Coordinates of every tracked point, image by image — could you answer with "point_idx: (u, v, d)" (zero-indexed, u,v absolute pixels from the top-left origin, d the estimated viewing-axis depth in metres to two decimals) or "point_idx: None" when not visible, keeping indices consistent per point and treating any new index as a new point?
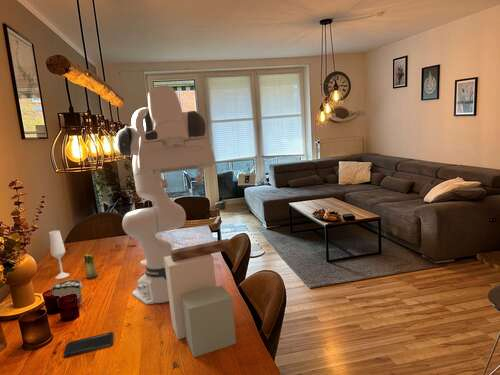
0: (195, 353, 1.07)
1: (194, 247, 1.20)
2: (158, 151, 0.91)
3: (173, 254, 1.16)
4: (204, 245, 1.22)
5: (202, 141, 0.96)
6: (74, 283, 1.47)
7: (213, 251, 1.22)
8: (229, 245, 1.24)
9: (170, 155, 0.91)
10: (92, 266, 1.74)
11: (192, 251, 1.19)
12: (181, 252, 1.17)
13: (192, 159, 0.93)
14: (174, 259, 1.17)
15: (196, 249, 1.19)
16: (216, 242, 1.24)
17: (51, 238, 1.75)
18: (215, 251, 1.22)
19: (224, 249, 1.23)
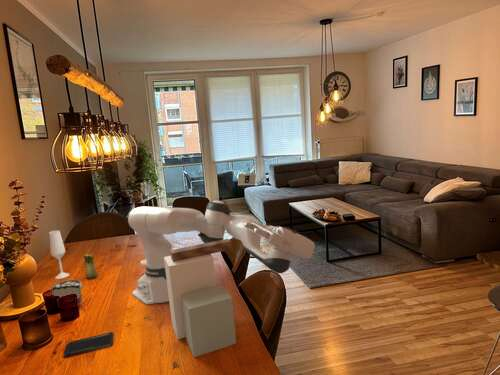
0: (195, 353, 1.07)
1: (194, 247, 1.20)
2: (267, 228, 1.36)
3: (173, 254, 1.16)
4: (204, 245, 1.22)
5: (286, 237, 1.26)
6: (74, 283, 1.47)
7: (213, 251, 1.22)
8: (229, 245, 1.24)
9: None
10: (92, 266, 1.74)
11: (192, 251, 1.19)
12: (181, 252, 1.17)
13: (269, 230, 1.27)
14: (174, 259, 1.17)
15: (196, 249, 1.19)
16: (216, 242, 1.24)
17: (51, 238, 1.75)
18: (215, 251, 1.22)
19: (224, 249, 1.23)
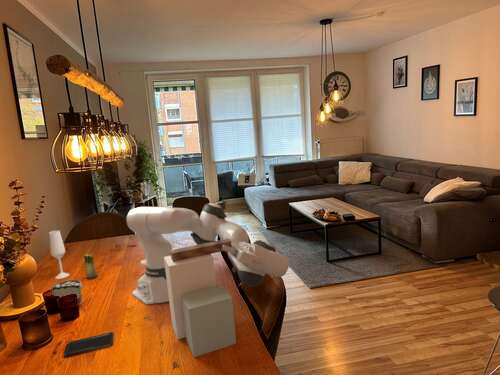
0: (195, 353, 1.07)
1: (194, 247, 1.20)
2: (239, 245, 1.33)
3: (173, 254, 1.16)
4: (204, 245, 1.22)
5: (256, 255, 1.22)
6: (74, 283, 1.47)
7: (213, 251, 1.22)
8: (229, 245, 1.24)
9: (238, 245, 1.29)
10: (92, 266, 1.74)
11: (192, 251, 1.19)
12: (181, 252, 1.17)
13: (240, 248, 1.24)
14: (174, 259, 1.17)
15: (196, 249, 1.19)
16: (216, 242, 1.24)
17: (51, 238, 1.75)
18: (215, 251, 1.22)
19: None
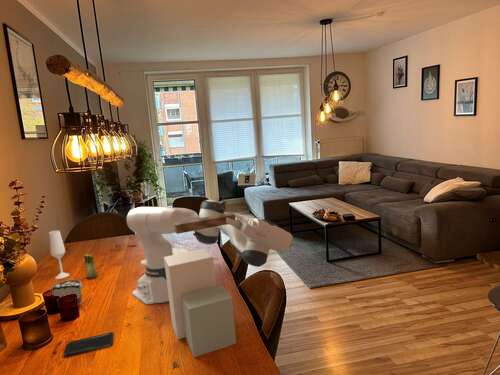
0: (195, 353, 1.07)
1: (198, 220, 1.19)
2: (243, 220, 1.32)
3: (176, 226, 1.15)
4: (208, 218, 1.21)
5: (260, 228, 1.21)
6: (74, 283, 1.47)
7: (217, 224, 1.21)
8: (233, 218, 1.23)
9: (242, 220, 1.29)
10: (92, 266, 1.74)
11: (196, 224, 1.18)
12: (185, 224, 1.16)
13: None
14: (178, 231, 1.16)
15: (200, 221, 1.18)
16: (220, 215, 1.23)
17: (51, 238, 1.75)
18: (219, 224, 1.21)
19: None
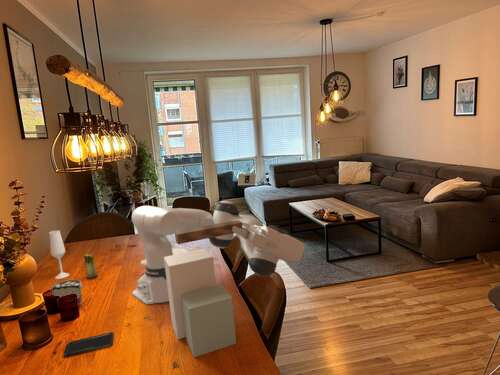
0: (195, 353, 1.07)
1: (201, 228, 1.08)
2: (250, 228, 1.20)
3: (178, 236, 1.04)
4: (212, 226, 1.10)
5: (270, 238, 1.10)
6: (74, 283, 1.47)
7: (222, 233, 1.10)
8: (240, 227, 1.12)
9: (249, 228, 1.17)
10: (92, 266, 1.74)
11: (199, 233, 1.07)
12: (187, 233, 1.05)
13: (251, 229, 1.11)
14: (179, 241, 1.04)
15: (203, 230, 1.07)
16: (225, 223, 1.12)
17: (51, 238, 1.75)
18: (224, 233, 1.10)
19: None
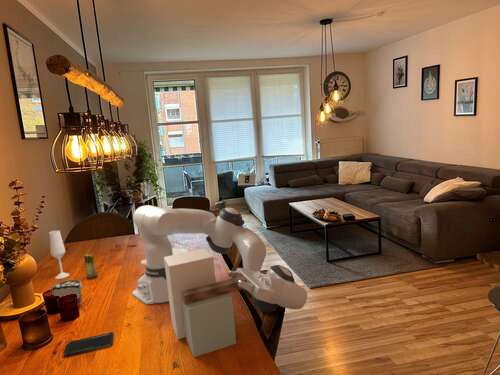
0: (195, 353, 1.07)
1: (207, 287, 1.11)
2: (253, 276, 1.23)
3: (184, 297, 1.07)
4: (218, 284, 1.13)
5: (273, 290, 1.12)
6: (74, 283, 1.47)
7: (227, 291, 1.13)
8: None
9: (253, 277, 1.20)
10: (92, 266, 1.74)
11: (205, 292, 1.09)
12: (193, 294, 1.08)
13: (255, 281, 1.14)
14: (186, 302, 1.07)
15: (209, 290, 1.10)
16: (230, 281, 1.15)
17: (51, 238, 1.75)
18: (230, 291, 1.13)
19: (239, 288, 1.14)
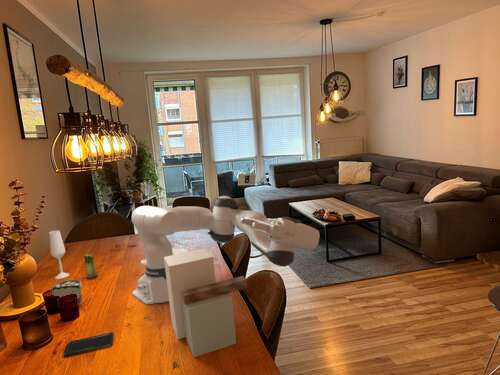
0: (195, 353, 1.07)
1: (207, 287, 1.11)
2: (265, 222, 1.25)
3: (184, 297, 1.07)
4: (218, 284, 1.13)
5: None
6: (74, 283, 1.47)
7: (227, 291, 1.13)
8: (244, 284, 1.15)
9: None
10: (92, 266, 1.74)
11: (205, 292, 1.09)
12: (193, 294, 1.08)
13: None
14: (186, 302, 1.07)
15: (209, 290, 1.10)
16: (230, 281, 1.15)
17: (51, 238, 1.75)
18: (230, 291, 1.13)
19: (239, 288, 1.14)
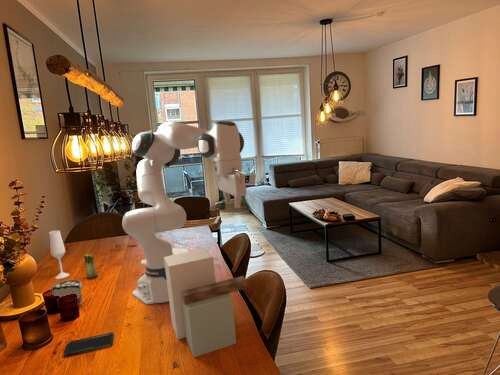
0: (195, 353, 1.07)
1: (207, 287, 1.11)
2: (222, 178, 1.28)
3: (184, 297, 1.07)
4: (218, 284, 1.13)
5: (233, 177, 1.16)
6: (74, 283, 1.47)
7: (227, 291, 1.13)
8: (244, 284, 1.15)
9: (224, 183, 1.25)
10: (92, 266, 1.74)
11: (205, 292, 1.09)
12: (193, 294, 1.08)
13: (230, 190, 1.21)
14: (186, 302, 1.07)
15: (209, 290, 1.10)
16: (230, 281, 1.15)
17: (51, 238, 1.75)
18: (230, 291, 1.13)
19: (239, 288, 1.14)
